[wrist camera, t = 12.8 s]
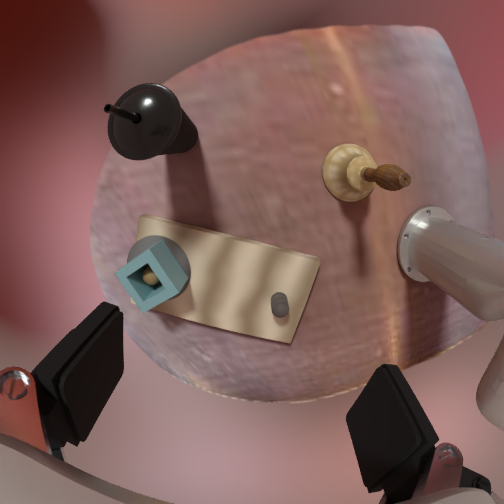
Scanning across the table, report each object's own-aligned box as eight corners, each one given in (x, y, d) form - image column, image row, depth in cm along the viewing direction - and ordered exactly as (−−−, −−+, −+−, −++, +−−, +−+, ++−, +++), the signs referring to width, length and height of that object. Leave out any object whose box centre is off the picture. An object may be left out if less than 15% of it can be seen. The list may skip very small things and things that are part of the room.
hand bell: (376, 201, 36) (440, 222, 21) (323, 202, 37) (365, 225, 22) (374, 144, 34) (438, 135, 19) (319, 143, 34) (361, 126, 19)
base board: (317, 257, 39) (327, 271, 33) (289, 336, 43) (292, 358, 37) (138, 212, 38) (120, 219, 32) (130, 295, 42) (114, 312, 36)
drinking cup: (148, 153, 35) (57, 146, 16) (167, 104, 33) (91, 57, 14) (195, 170, 36) (131, 171, 17) (216, 119, 34) (172, 69, 15)
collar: (162, 238, 36) (149, 249, 32) (188, 277, 38) (179, 292, 33) (129, 261, 38) (114, 273, 33) (154, 297, 39) (142, 313, 34)
